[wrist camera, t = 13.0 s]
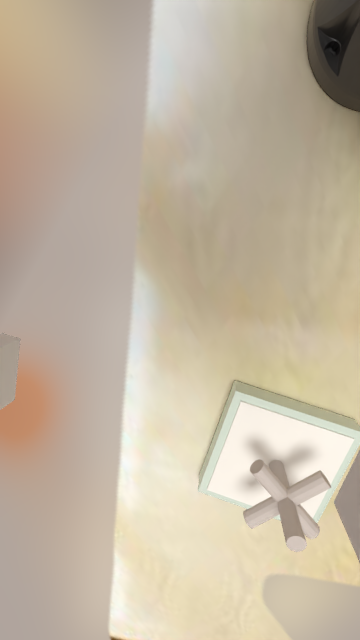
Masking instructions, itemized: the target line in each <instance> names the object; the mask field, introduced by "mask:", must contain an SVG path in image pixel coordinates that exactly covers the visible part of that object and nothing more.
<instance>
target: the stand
mask: <svg viewBox="0 0 360 640" xmlns="http://www.w3.org/2000/svg"><path fill="white" fill-rule="evenodd" d="M359 445H360V426H359V425H358V423H357V422H356V421H355V420H354V419H352V418H349V417H346V416H343V415H340V414H336V413H333V412H330V411H327V410H324V409H321V408H318V407H315V406H312V405H309V404H306V403H303V402H300V401H297V400H294V399H290V398H287V397H284V396H281V395H278V394H275V393H272V392H269V391H266V390H263V389H260V388H257V387H254V386H251V385H247V384H244V383H241V382H238V381H234V383H233V386H232V389H231V391H230V394H229V397H228V399H227V402H226V405H225V407H224V410H223V413H222V416H221V418H220V421H219V424H218V426H217V429H216V432H215V434H214V437H213V440H212V443H211V445H210V448H209V451H208V453H207V456H206V459H205V461H204V464H203V467H202V469H201V472H200V475H199V485H198V492H201V493H204V494H207V495H210V496H212V497H215V498H218V499H221V500H224V501H227V502H229V503H232V504H235V505H238V506H241V507H243V508H246V509H249V508H251V507H252V506H254V505H256V504H258V503H260V502H262V501H264V500H265V499H267V498H269V497H271V495H270V494H269V493H268V492H267V491H266V489H265V488H264V487H263V486H262V485H261V484H260V483H259V481H258V480H257V479H256V478H255V477H254V476H253V474H252V473H251V472H250V467H251V465H252V463H253V462H254V461H256V460H259V459H260V460H263V462H264V463H265V464H266V465H267V466H268V467H269V463H270V462H271V461H273V460H279V461H281V462H282V463H283V465H284V468H285V472H286V475H287V478H288V482H289V485H290V486H291V485H293V484H295V483H297V482H299V481H301V480H303V479H304V478H306V477H308V476H310V475H312V474H314V473H316V472H317V471H319V470H321V471H322V472H323V474H324V475H325V476H326V478H327V480H328V481H329V483H330V485H331V488H330V489H328V490H326V491H324V492H322V493H320V494H318V495H316V496H314V497H312V498H310V499H308V500H306V501H305V502H303V503H301V504H300V505H301V506H302V507H303V508H304V509H305V510H306V512H307V513H308V514H309V515H310V516H311V517H312V519H313V520H314V521H315V522H316V523H318V521H319V519H320V517H321V515H322V513H323V512H324V510H325V508H326V506H327V504H328V502H329V500H330V499H331V497H332V495H333V493H334V491H335V489H336V487H337V486H338V484H339V482H340V480H341V478H342V476H343V474H344V473H345V471H346V469H347V467H348V465H349V463H350V461H351V460H352V458H353V456H354V454H355V452H356V450H357V448H358V447H359ZM274 519H277V520H280V521H281V518H280V514H279V515H277V516H275V517H274Z"/></svg>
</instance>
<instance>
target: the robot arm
mask: <svg viewBox="0 0 360 640" xmlns="http://www.w3.org/2000/svg"><path fill="white" fill-rule="evenodd" d="M307 48H308V56H309V61H310V64H311V68H312V70H313V73H314V75H315V77H316V79H317V81H318V83H319V84H320V86H321V87H322V88H323V90H324V91H325V92H326V93H327V94H328V95H329V96H330V97H331V98H332V99H334V100H335V101H336V102H338V103H339V104H341V105H343V106H345V107H347V108H350V109H353V110H356V111H360V0H314V2H313V5H312V9H311V12H310V17H309V22H308V30H307ZM19 348H20V338H17V337H13V336H10V335H7V334H3V333H2V334H0V409H2V408H4V407H5V406H6V405H8V404H9V403H10V402H12V401H13V400H14V399H15V390H16V380H17V368H18V358H19ZM334 504H335V506H336V509H337V511H338V513H339V516H340V518H341V520H342V523H343V525H344V527H345V530H346V532H347V534H348V537H349V539H350V541H351V544H352V546H353V548H354V550H355V553H356V555H357V557H358V560H359V562H360V450H359V452H358V454H357V456H356V458H355V460H354V462H353V464H352V466H351V468H350V470H349V472H348V474H347V476H346V478H345V480H344V482H343V484H342V486H341V488H340V490H339V492H338V494H337V496H336V498H335V500H334Z"/></svg>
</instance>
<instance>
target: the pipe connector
mask: <svg viewBox="0 0 360 640" xmlns="http://www.w3.org/2000/svg"><path fill="white" fill-rule="evenodd" d="M250 472H251V473H252V474H253V476H254V477H255V478H256V479H257V480H258V481H259V483H260V484H261V485H262V486H263V487H264V488H265V489H266V491H267V492H268V493H269V494H270V495H271V497H269V498H267V499H265V500H264V501H262V502H260V503H258V504H256V505H254V506H252V507H251V508H249V509H247V510H245V511H244V513H243V515H244V519H245V521H246V523H247V525H248V526H249V527H250V528H251V529H252V528H254V527H256V526H258V525H260V524H262V523H264V522H266V521H268V520H270V519H272V518H274V517H275V516H277V515H279V514H280V518H281V523H282V527H283V532H284V536H285V541H286V545H287V547H288V548H289V549H290V550H292V551H296V552H298V551H302V550H304V549H305V548H306V546H307V543H306V540H305V536H304V534H305V535H306V537H308V538H310V539H314V538H316V537H317V536H318V534H319V532H320V529H319V526H318V524H317V523H316V522H315V521H314V520H313V519H312V517H311V516H310V515H309V514H308V513H307V512H306V510H305V509H304V508H303V507H302V506H301V505H300V504H301V503H303V502H305V501H306V500H308V499H310V498H312V497H314V496H316V495H318V494H320V493H322V492H324V491H326V490H328V489H330V488H331V485H330V483H329V481H328V480H327V478H326V476H325V475H324V474H323V472H322V471H321V470H319V471H317V472H316V473H314V474H312V475H310V476H308V477H306V478H304V479H303V480H301V481H299V482H297V483H295V484H293V485H291V486H290V485H289V482H288V478H287V475H286V472H285V468H284V465H283V463H282V462H281V461H279V460H273V461H271V462H270V463H269V467H268V466H267V465H266V464H265V463H264V462H263V460H260V459H259V460H256V461H254V462H253V463H252V465H251V467H250Z"/></svg>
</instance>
